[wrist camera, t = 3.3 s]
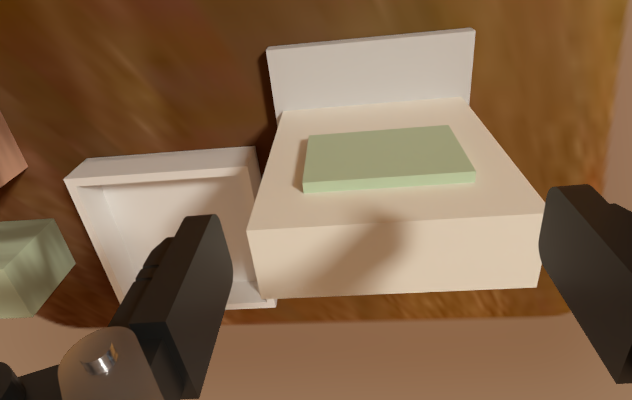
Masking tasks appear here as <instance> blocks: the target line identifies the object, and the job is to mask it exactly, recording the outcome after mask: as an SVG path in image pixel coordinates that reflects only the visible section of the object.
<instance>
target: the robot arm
mask: <svg viewBox="0 0 632 400" xmlns="http://www.w3.org/2000/svg"><path fill="white" fill-rule="evenodd" d="M538 248H539V255H540V259H541V262H542V264H543V266H544V268H545V270H546V271H547V273H548V274H549V276H550V278H551V279H552V281H553V282H554V284H555V286H556V287H557V289H558V290H559V292H560V294H561V295H562V297H563V299H564V300H565V302H566V303H567V305H568V307H569V308H570V310H571V311H572V313H573V315H574V316H575V318H576V319H577V321H578V322H579V324H580V326H581V328H582V329H583V331H584V332H585V334H586V336H587V337H588V339H589V340H590V342H591V344H592V345H593V347H594V348H595V350H596V352H597V353H598V355H599V357H600V358H601V360H602V361H603V363H604V365H605V366H606V368H607V369H608V371H609V373H610V374H611V376H612V378H613V379H614V381H615V382H616V384H623V383H632V212H631V211H629V210H627V209H625V208H623V207H621V206H619V205H617V204H609V203H608V202H607V201H606V200H605V199H604V198H603V197H602V196H601V195H600V194H599V193H598V192H597V191H596V190H595V189H594V188H593V187H592V186H590V185H588V184H583V185H571V186H559V187H552V188H551V189H550V190H549V191H548V194H547V198H546V203H545V208H544V214H543V219H542V225H541V230H540V235H539V242H538ZM135 279H136V281H135V282H133V284H132V285H131V287H130V289H129V290H128V292H127V294H126V296H125V297H124V299H123V301H122V303H121V304H120V306H119V308H118V310H117V311H116V313H115V315H114V316H113V318H112V320H111V322H110V323H109V325H108V327H107V328H103V329H100V330H97V331H95V332H93V333H91V334H89V335H87V336H85V337H84V338H82V339H81V340H80V341H78V342H77V343H76V344H75V345H73V346H72V347H71V349H69V350H68V352H67V353H66V354H65V356H64V357H63V359H62V360H61V362H60V364H59V365H56V366H52V367H49V368H46V369H43V370H40V371H36V372H33V373H30V374H27V375H24V376H21V377H17V376H16V375H15V373H14V372H13V371H12V369H11V368H10V367H9V366H8V365H7V364H5V363H2V362H0V400H180V399H198V398H199V397H200V393H201V390H202V386H203V383H204V380H205V376H206V373H207V369H208V366H209V362H210V359H211V355H212V352H213V349H214V345H215V342H216V339H217V335H218V332H219V328H220V325H221V321H222V318H223V315H224V311H225V308H226V304H227V301H228V298H229V294H230V291H231V287H232V283H233V265H232V260H231V256H230V253H229V250H228V246H227V243H226V239H225V236H224V232H223V229H222V225H221V222H220V219H219V217H218V216H217V215H216V214H208V215H196V216H186V217H185V218H184V219H183V221H182V223H181V225H180V227H179V229H178V231H177V232H176V234H175V236H174V237H167V238H165V239H164V240H163V241H162V242H161V243H160V244H159V245H157V246H156V247H155V248H154V249H153V250H152V251H151V252H150V254H149V256H148V258H147V259H146V261H145V263H144V264H143V269H141V270H140V271H139V273H138V275H137V277H136V278H135Z"/></svg>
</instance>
